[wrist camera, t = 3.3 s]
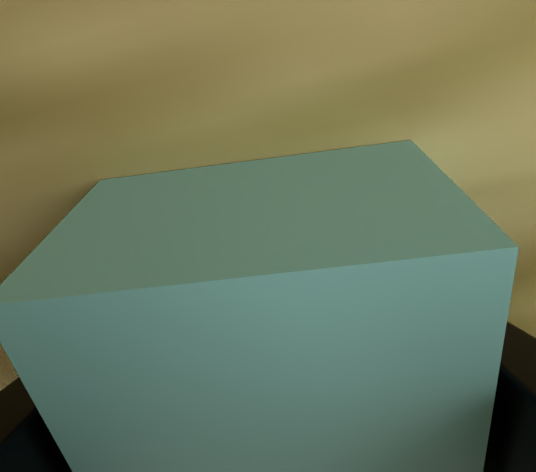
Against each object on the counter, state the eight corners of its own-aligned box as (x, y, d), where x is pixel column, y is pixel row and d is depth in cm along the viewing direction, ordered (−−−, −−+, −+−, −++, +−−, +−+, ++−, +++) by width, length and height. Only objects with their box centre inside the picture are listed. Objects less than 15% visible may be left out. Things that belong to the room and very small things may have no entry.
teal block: (405, 373, 11) (470, 550, 7) (172, 395, 11) (128, 572, 8) (410, 139, 8) (518, 247, 5) (100, 179, 8) (-21, 306, 5)
